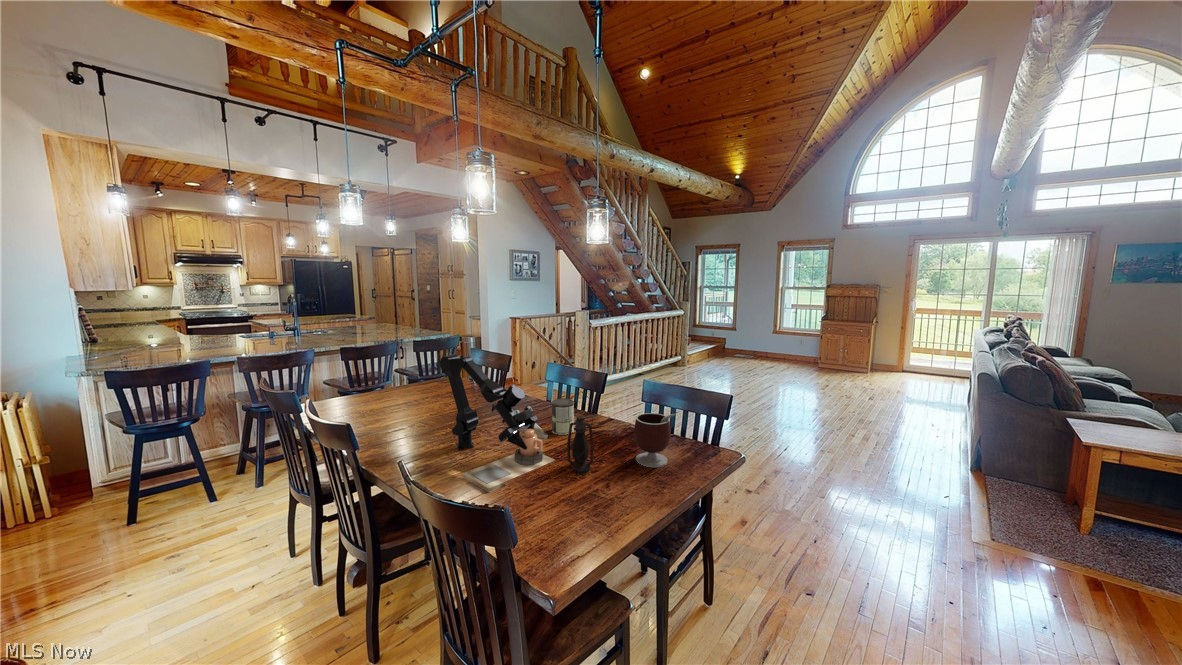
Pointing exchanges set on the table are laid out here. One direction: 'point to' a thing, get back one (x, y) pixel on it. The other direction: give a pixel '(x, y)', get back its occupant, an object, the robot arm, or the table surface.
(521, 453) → the peach jug
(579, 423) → the lantern
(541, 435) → the ceramic mug
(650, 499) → the table surface
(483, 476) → the board
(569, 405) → the coffee can
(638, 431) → the mate gourd
